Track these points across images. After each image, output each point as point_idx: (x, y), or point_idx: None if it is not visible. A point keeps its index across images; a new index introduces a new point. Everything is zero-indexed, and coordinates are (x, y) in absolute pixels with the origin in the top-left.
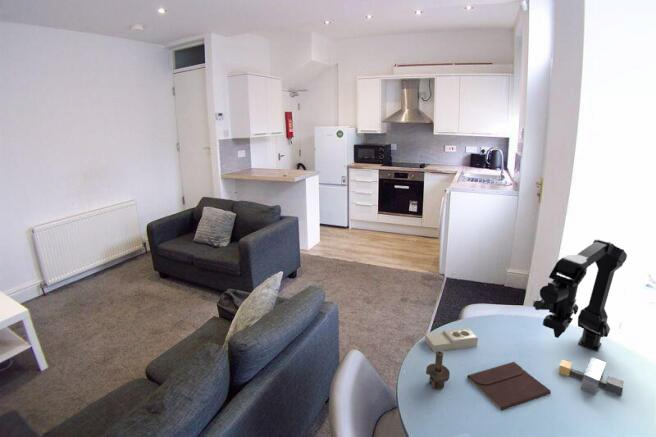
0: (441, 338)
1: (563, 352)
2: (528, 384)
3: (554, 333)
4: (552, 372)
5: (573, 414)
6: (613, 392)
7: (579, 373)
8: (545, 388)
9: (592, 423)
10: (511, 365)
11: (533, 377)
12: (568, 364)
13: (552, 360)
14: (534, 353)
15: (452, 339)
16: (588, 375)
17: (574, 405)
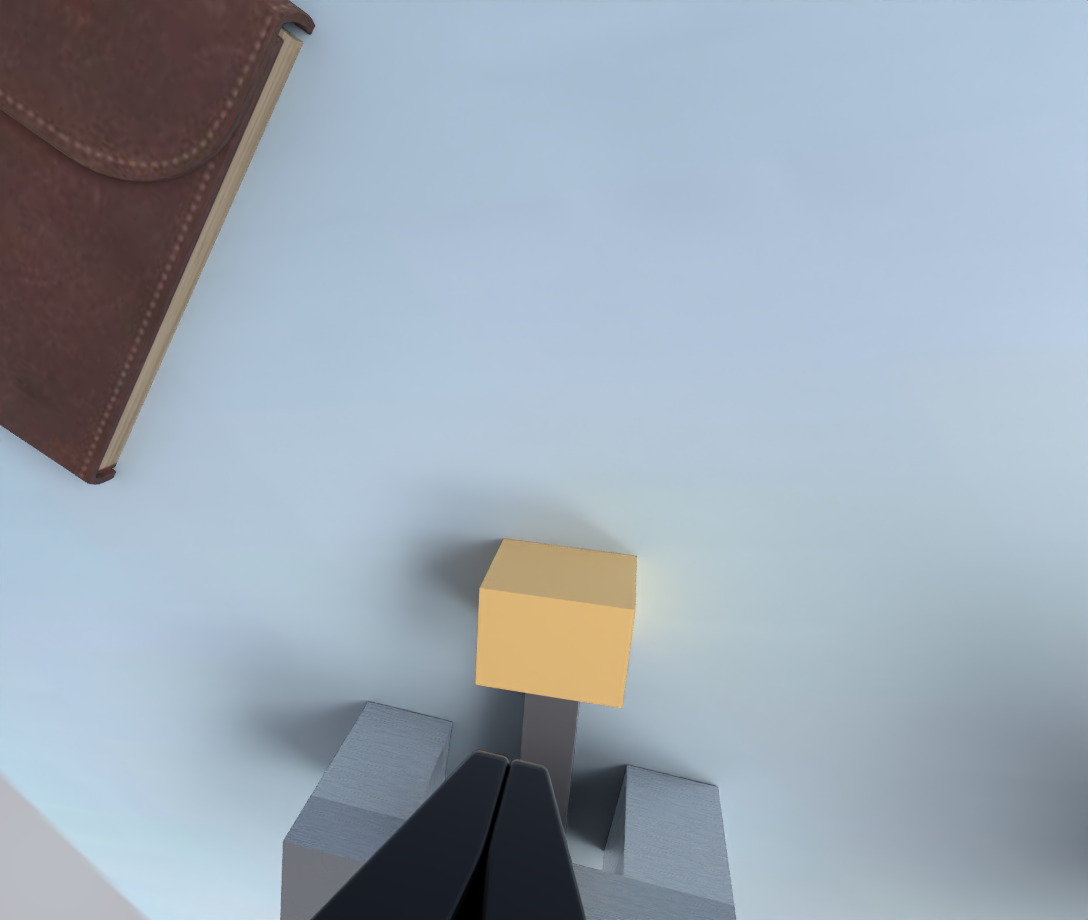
0: None
1: (999, 590)
2: (5, 279)
3: (400, 835)
4: (467, 484)
5: (12, 633)
6: None
7: (533, 734)
8: (78, 441)
9: (26, 734)
10: (167, 3)
11: (158, 313)
12: (559, 671)
13: (722, 477)
14: (775, 256)
15: None
16: (298, 875)
17: (117, 645)
